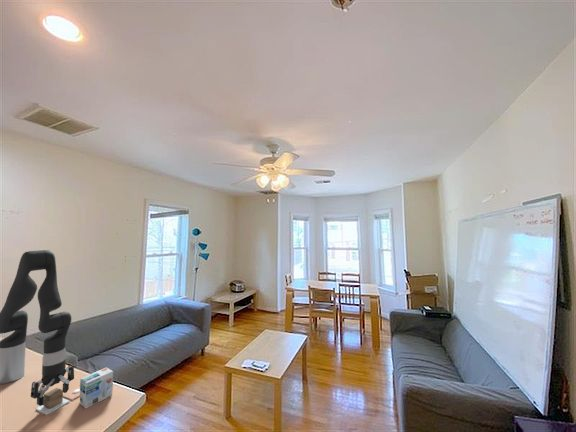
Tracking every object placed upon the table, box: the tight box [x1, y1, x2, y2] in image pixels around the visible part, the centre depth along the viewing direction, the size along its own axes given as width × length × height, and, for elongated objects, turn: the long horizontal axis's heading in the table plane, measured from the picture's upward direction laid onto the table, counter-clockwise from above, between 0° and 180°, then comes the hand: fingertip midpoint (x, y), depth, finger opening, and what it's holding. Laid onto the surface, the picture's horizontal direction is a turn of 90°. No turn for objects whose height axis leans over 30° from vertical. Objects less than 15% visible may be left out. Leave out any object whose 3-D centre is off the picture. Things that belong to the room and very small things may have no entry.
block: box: [43, 387, 64, 409], centre depth 109 cm, size 4×4×5 cm
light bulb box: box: [79, 366, 114, 409], centre depth 113 cm, size 11×7×11 cm, turn 148°
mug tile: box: [63, 384, 80, 401], centre depth 117 cm, size 8×8×1 cm
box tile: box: [35, 397, 71, 415], centre depth 109 cm, size 8×8×1 cm
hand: (53, 398), depth 109 cm, fingers open, 8 cm apart
